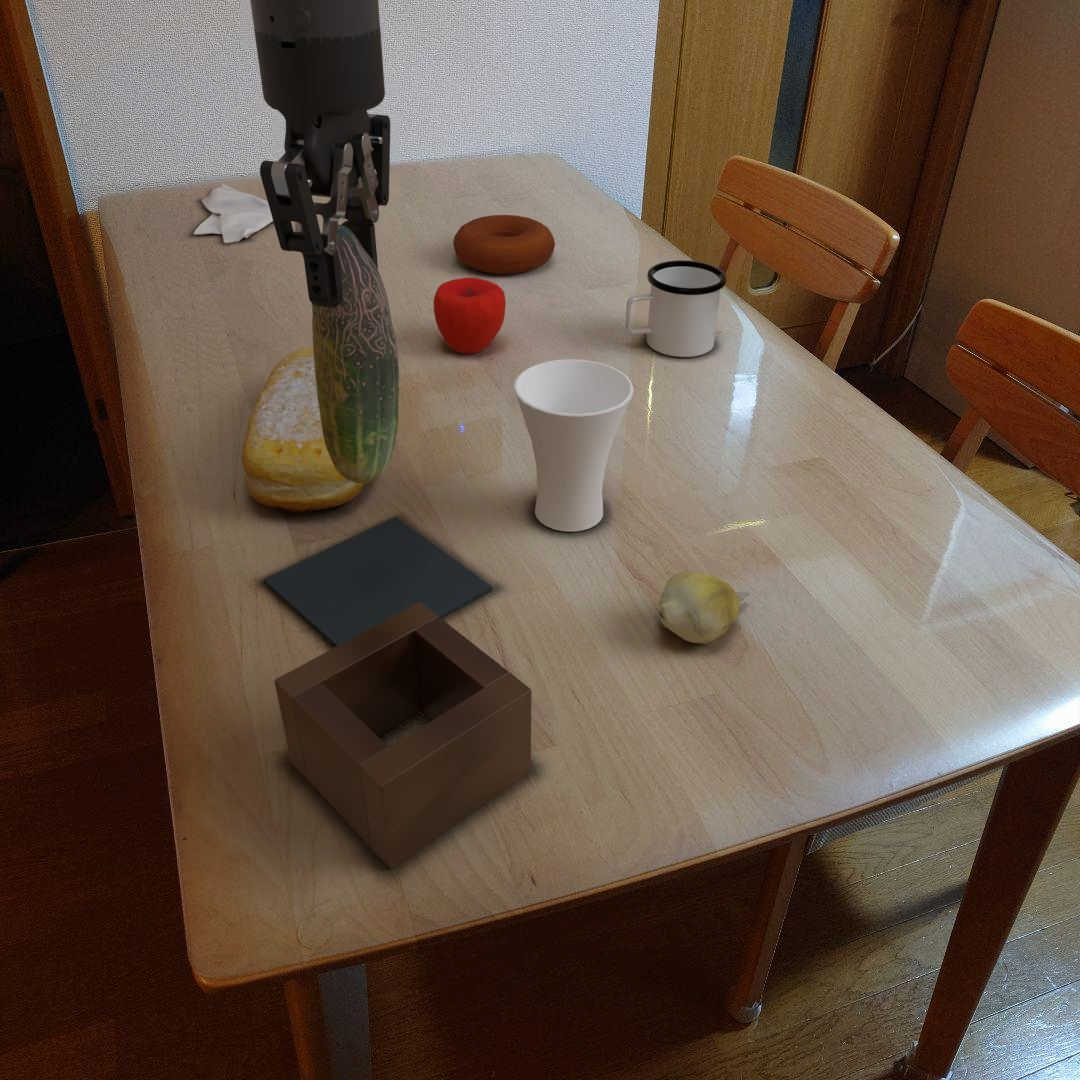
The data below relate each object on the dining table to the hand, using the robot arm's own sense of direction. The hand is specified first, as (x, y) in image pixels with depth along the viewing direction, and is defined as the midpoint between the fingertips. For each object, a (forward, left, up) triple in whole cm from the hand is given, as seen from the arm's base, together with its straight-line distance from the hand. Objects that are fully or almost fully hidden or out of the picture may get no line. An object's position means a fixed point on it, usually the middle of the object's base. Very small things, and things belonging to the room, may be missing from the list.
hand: (344, 288), depth 71 cm
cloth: (+39, +93, -27) cm, 104 cm away
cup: (+20, -3, -27) cm, 34 cm away
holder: (-10, -18, -27) cm, 34 cm away
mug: (+55, +15, -27) cm, 63 cm away
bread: (+9, +22, -27) cm, 36 cm away
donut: (+58, +50, -27) cm, 81 cm away
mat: (0, 0, -27) cm, 27 cm away
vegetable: (0, 0, -16) cm, 16 cm away
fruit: (+17, -22, -27) cm, 39 cm away
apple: (+36, +31, -27) cm, 55 cm away
